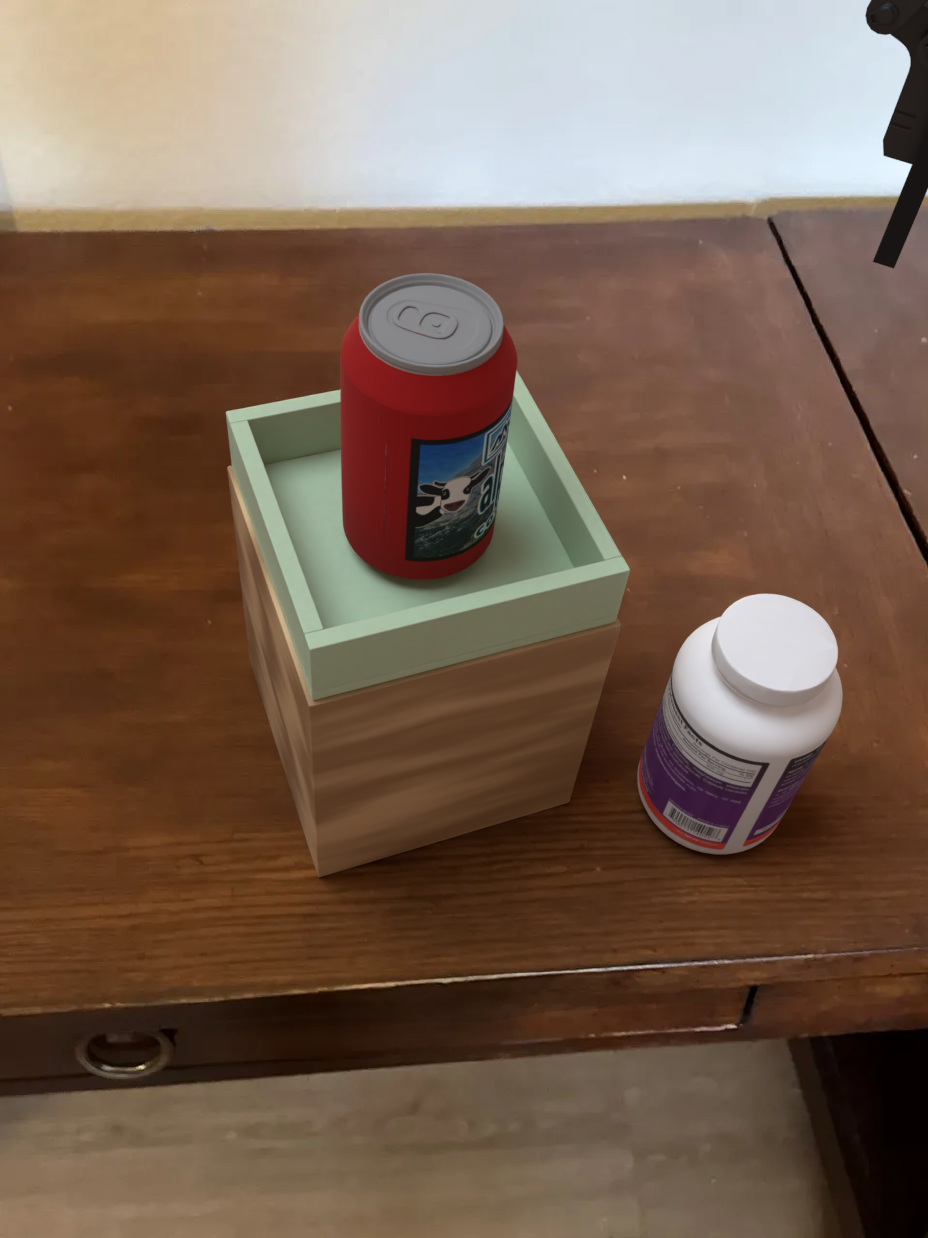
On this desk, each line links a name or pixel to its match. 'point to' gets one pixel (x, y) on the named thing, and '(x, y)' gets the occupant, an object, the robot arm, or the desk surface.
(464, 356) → the beverage can
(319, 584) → the tub
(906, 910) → the desk surface
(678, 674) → the pill bottle
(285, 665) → the stand
